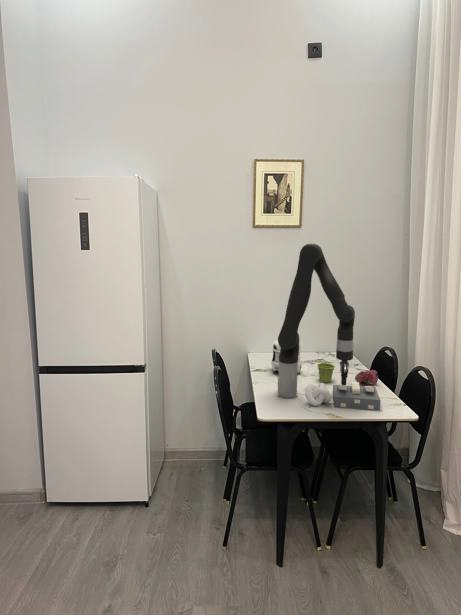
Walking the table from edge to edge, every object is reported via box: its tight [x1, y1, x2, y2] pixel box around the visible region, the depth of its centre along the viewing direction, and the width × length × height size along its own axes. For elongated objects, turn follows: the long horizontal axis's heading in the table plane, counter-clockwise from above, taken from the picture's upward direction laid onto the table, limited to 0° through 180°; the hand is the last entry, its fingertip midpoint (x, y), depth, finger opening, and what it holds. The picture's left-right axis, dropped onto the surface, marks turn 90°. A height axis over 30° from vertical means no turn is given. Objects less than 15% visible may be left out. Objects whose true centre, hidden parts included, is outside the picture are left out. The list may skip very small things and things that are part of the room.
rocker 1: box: [337, 384, 348, 390], centre depth 190 cm, size 3×7×2 cm, turn 168°
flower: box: [354, 369, 379, 386], centre depth 212 cm, size 11×10×10 cm
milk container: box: [270, 339, 302, 374], centre depth 232 cm, size 17×17×18 cm
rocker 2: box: [350, 381, 360, 394], centre depth 189 cm, size 3×7×2 cm, turn 168°
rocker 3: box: [363, 385, 374, 392], centre depth 188 cm, size 3×7×2 cm, turn 168°
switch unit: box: [332, 384, 382, 411], centre depth 189 cm, size 20×16×7 cm
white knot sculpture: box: [304, 382, 332, 407], centre depth 188 cm, size 11×12×9 cm
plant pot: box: [316, 362, 336, 384], centre depth 218 cm, size 9×9×9 cm
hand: (343, 384), depth 187 cm, fingers closed
